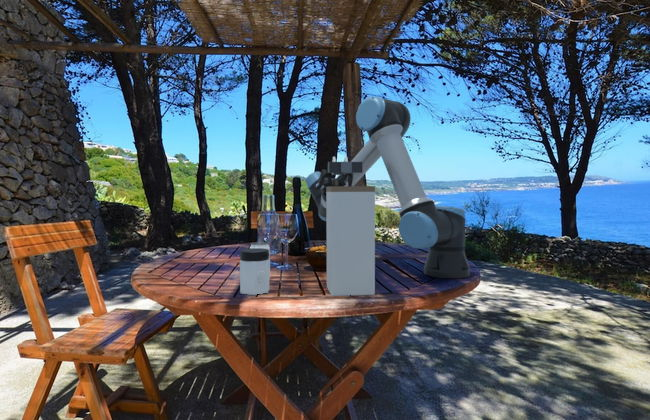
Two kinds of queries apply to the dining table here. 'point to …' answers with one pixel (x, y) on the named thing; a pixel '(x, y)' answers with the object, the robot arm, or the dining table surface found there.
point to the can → (264, 246)
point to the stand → (350, 240)
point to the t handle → (344, 167)
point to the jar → (254, 271)
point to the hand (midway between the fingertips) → (340, 160)
